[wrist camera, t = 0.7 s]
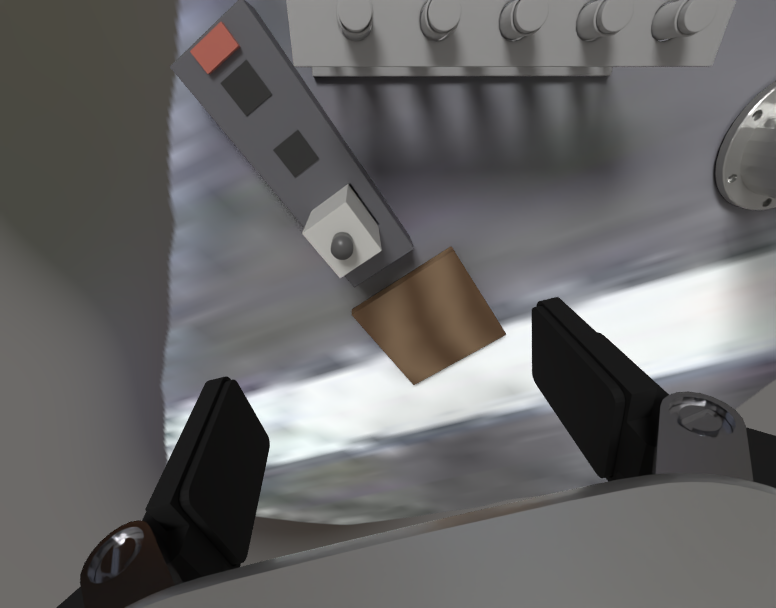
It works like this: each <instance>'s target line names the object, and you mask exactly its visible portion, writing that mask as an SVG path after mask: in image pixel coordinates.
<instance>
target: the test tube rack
mask: <svg viewBox="0 0 776 608" xmlns="http://www.w3.org/2000/svg"><path fill="white" fill-rule="evenodd" d="M510 1H514V0H286V2H287V11H288V19H289V28H290V37H291V46H292V55H293V63H294V67H312V74H313V76H314V77H441V76H610V75H611V72H612V68H613V67H707V66H712V65H713V62H714V59H715V57H716V54H717V51H718V48H719V46H720V43H721V40H722V38H723V35H724V32H725V30H726V27H727V24H728V22H729V19H730V16H731V13H732V11H733V8H734V5H735V3H736V0H515V1H514V2H512V3H510V4H509V5H507V6H505V5H506V4H508V3H509V2H510ZM591 1H596V2H593V3H590V4H588V5H586V4H587V3H589V2H591ZM672 1H674V2H673V3H669V4H666V5H663V4H665V3H667V2H672ZM426 3H427V4H426ZM425 4H426V6H425V8H423V7H424V5H425ZM584 5H585V6H584ZM504 6H505V7H504ZM664 39H668V40H667V41H662V42H660V41H659V40H664Z"/></svg>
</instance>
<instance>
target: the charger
mask: <svg viewBox="0 0 776 608" xmlns="http://www.w3.org/2000/svg"><path fill="white" fill-rule="evenodd" d="M302 234H303V235H304V236H305V237H306V239H307V240H308V241H309V242H310V243H311V245H312V246H313V247H314V248H315V249H316V250H317V252H318V253H319V254H320V255H321V256H322V258H323V259H324V260H325V261H326V262H327V263H328V265H329V266H330V267H331V268H332V269H333V271H334V272H335V273H336V274H337V275H338V276H339V278H341V277H343V276H344V275H346V274H347V273H349V272H350V271H352V270H353V269H355V268H356V267H358V266H359V265H361V264H362V263H364V262H365V261H367V260H368V259H370V258H371V257H373V256H374V255H376V254H377V253H379V252H380V251H382V248H381V241H380V234H379V228H378V225H377V223H376V222H375V221H374V219H373V218H372V217H371V214H370V213H369V211H368V210H367V208H366V207H365V206H364V204H363V203H362V201H361V200H360V199H359V197H358V196H357V194H356V193H355V192H354V190H353V189H352V187H351V186H350V185H348V184H347V185H346V186H345V187H343V188H342V189H341V190H339V191H338V192H336V193H335V194H334V195H332V196H331V197H330V198H328V199H327V200H326V201H324V202H323V203H322V204H320V205H319V206H317V207H316V208H315V209H313V210H312V211H311V213H310V216H309V218H308V221H307V223H306V225H305V228H304V230H303V233H302Z"/></svg>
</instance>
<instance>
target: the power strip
mask: <svg viewBox="0 0 776 608" xmlns="http://www.w3.org/2000/svg"><path fill="white" fill-rule="evenodd" d="M170 68H171V69H172V70H173V71H174V73H175V74H176V75H177V76H178V77H179V78H180V80H181V81H182V82H183V83H184V84H185V86H186V87H187V88H188V89H189V90H190V92H191V93H192V94H193V95H194V96H195V98H196V99H197V100H198V101H199V102H200V104H201V105H202V106H203V107H204V108H205V110H206V111H207V112H208V113H209V114H210V116H211V117H212V118H213V119H214V120H215V122H216V123H217V124H218V125H219V126H220V128H221V129H222V130H223V131H224V132H225V133H226V135H227V136H228V137H229V138H230V139H231V141H232V142H233V143H234V144H235V145H236V147H237V148H238V149H239V150H240V151H241V153H242V154H243V155H244V156H245V157H246V159H247V160H248V161H249V162H250V163H251V165H252V166H253V167H254V168H255V169H256V171H257V172H258V173H259V174H260V175H261V177H262V178H263V179H264V180H265V181H266V183H267V184H268V185H269V186H270V187H271V188H272V190H273V191H274V192H275V193H276V194H277V196H278V197H279V198H280V199H281V200H282V202H283V203H284V204H285V205H286V206H287V208H288V209H289V210H290V211H291V212H292V214H293V215H294V216H295V217H296V218H297V220H298V221H299V222H300V223H301V224H302V226H303V227H304V228H305V225H306V223H307V221H308V218H309V216H310V213H311V211H312V210H313V209H315V208H316V207H317V206H319V205H320V204H322V203H323V202H324V201H326V200H327V199H328V198H330V197H331V196H332V195H334V194H335V193H336V192H338V191H339V190H341V189H342V188H343V187H345V186H346V185H347V184H348V185H350V186H351V187H352V189H353V190H354V192H355V193H356V194H357V196H358V197H359V199H360V200H361V201H362V203H363V204H364V206H365V207H366V208H367V210H368V211H369V213H370V214H371V217H372V218H373V219H374V221H375V222H376V223H377V225H378V228H379V234H380V241H381V248H382V251H380V252H379V253H377V254H376V255H374V256H373V257H371V258H370V259H368V260H367V261H365V262H364V263H362V264H361V265H359V266H358V267H356V268H355V269H353V270H352V271H350V272H349V273H347V274H346V275H344V276H345V277H346V278H347V279H348V281H349V282H350V283H351V284H352V285H353V287H356V286H357V285H359V284H360V283H362V282H364V281H365V280H367V279H368V278H370V277H371V276H373V275H374V274H376V273H377V272H379V271H380V270H382V269H383V268H385V267H387V266H388V265H390V264H391V263H393V262H394V261H396V260H397V259H399V258H400V257H402V256H403V255H405V254H406V253H408V252H410V251H411V250H413V249H414V247H413V244H412V241H411V239H410V236H409V234H408V233H407V232H406V230H405V229H404V227H403V226H402V224H401V223H400V221H399V220H398V218H397V217H396V215H395V214H394V212H393V211H392V210H391V208H390V207H389V205H388V204H387V202H386V201H385V199H384V198H383V196H382V195H381V193H380V192H379V190H378V189H377V188H376V186H375V185H374V183H373V182H372V180H371V179H370V177H369V176H368V174H367V173H366V171H365V170H364V168H363V167H362V166H361V164H360V163H359V161H358V160H357V158H356V157H355V155H354V154H353V152H352V151H351V149H350V148H349V146H348V145H347V143H346V142H345V141H344V139H343V138H342V136H341V135H340V133H339V132H338V130H337V129H336V127H335V126H334V124H333V123H332V121H331V120H330V119H329V117H328V116H327V114H326V113H325V111H324V110H323V108H322V107H321V105H320V104H319V102H318V101H317V99H316V98H315V97H314V95H313V94H312V92H311V91H310V89H309V88H308V86H307V85H306V83H305V82H304V80H303V79H302V77H301V76H300V74H299V73H298V72H297V70H296V69H295V67H294V66H293V64H292V63H291V61H290V60H289V58H288V57H287V55H286V54H285V52H284V51H283V50H282V48H281V47H280V45H279V44H278V42H277V41H276V39H275V38H274V36H273V35H272V33H271V32H270V30H269V29H268V28H267V26H266V25H265V23H264V22H263V20H262V19H261V17H260V16H259V14H258V13H257V11H256V10H255V8H253V7H252V6H251V5H250V4H249V3H247V2H246V1H245V0H238V1H237V2H236V3H235V4H234V5H233V6H232V7H231V8H230V9H229V10H228V11H227V12H226V13H225V14H224V15H223V16H222V17H221V18H220V19H218V20H217V21H216V22H215V23H214V24H213V25H212V26H211V27H210V28H209V29H208V30H207V31H206V32H205V33H204V34H203V35H202V36H201V37H200V38H199V39H198V40H197V41H196V42H195V43H194V44H193V45H192V46H191V47H190V48H189V49H188V50H187V51H185V52H184V53H183V54H182V55H181V56H180V57H179V58H178V59H177V60H176V61H175V62H174V63H173V64H172V65H171V66H170Z"/></svg>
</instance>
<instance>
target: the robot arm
mask: <svg viewBox="0 0 776 608" xmlns="http://www.w3.org/2000/svg"><path fill="white" fill-rule="evenodd" d="M715 175H716V183H717V186H718V189H719V191H720V193H721V195H722V196H723V197H724V198H725V200H727V201H728V202H730V203H731V204H733V205H735V206H738V207H741V208H744V209H750V210H767V209H771V208H776V81H775V82H773V83H772V84H770V85H769V86H768V87H767V88H765V89H764V90H763V91H762V92H760V93H759V94H758V95H757V96H756V97H755V98H754V99H753V100H752V101H751V102H750V103H749V104H748V105H747V106H746V107H745V108H744V110H743V111H742V112H741V113H740V115H739V116H738V117H737V119H736V120H735V121H734V123H733V124H732V126H731V128H730V129H729V131H728V133H727V134H726V136H725V139H724V141H723V143H722V145H721V148H720V151H719V154H718V158H717V162H716V172H715ZM532 375H533V379H534V381H535V383H536V385H537V387H538V388H539V389H540V391H541V392H542V394H543V395H544V397H545V398H546V400H547V401H548V403H549V404H550V406H551V407H552V409H553V410H554V412H555V413H556V415H557V416H558V418H559V419H560V421H561V422H562V424H563V425H564V426H565V428H566V429H567V431H568V432H569V434H570V435H571V437H572V438H573V440H574V441H575V443H576V444H577V446H578V447H579V449H580V450H581V452H582V453H583V455H584V456H585V458H586V459H587V460H588V462H589V463H590V465H591V466H592V468H593V469H594V471H595V472H596V474H597V475H598V476H599V477H600V478H606V479H607V480H608V482H604V483H599V484H595V485H590V486H585V487H580V488H576V489H571V490H566V491H561V492H557V493H552V494H548V495H543V496H539V497H535V498H530V499H526V500H521V501H517V502H513V503H509V504H504V505H500V506H495V507H491V508H487V509H483V510H478V511H474V512H469V513H465V514H460V515H456V516H452V517H448V518H443V519H439V520H435V521H430V522H427V523H422V524H417V525H413V526H409V527H405V528H400V529H396V530H392V531H388V532H384V533H379V534H375V535H371V536H367V537H362V538H358V539H354V540H350V541H345V542H341V543H338V544H333V545H329V546H324V547H320V548H316V549H312V550H308V551H304V552H300V553H296V554H291V555H287V556H283V557H279V558H275V559H270V560H266V561H263V562H259V563H254V564H250V565H246V566H243V567H240V564H241V563H243V562H244V561H245V559H246V557H247V554H248V549H249V544H250V539H251V535H252V530H253V525H254V520H255V515H256V510H257V506H258V501H259V496H260V491H261V486H262V481H263V477H264V472H265V467H266V462H267V457H268V452H269V447H270V442H269V437H268V435H267V433H266V431H265V430H264V428H263V426H262V425H261V423H260V421H259V419H258V418H257V416H256V414H255V412H254V411H253V409H252V407H251V405H250V404H249V402H248V400H247V398H246V397H245V395H244V393H243V391H242V390H241V388H240V386H239V384H238V383H237V381H236V380H231V379H230V378H229V377H222V378H218V379H213V380H209V381H207V382H206V383H205V385H204V387H203V389H202V391H201V394H200V396H199V398H198V400H197V402H196V404H195V406H194V408H193V410H192V412H191V415H190V417H189V419H188V421H187V423H186V425H185V427H184V429H183V431H182V433H181V435H180V438H179V440H178V442H177V444H176V446H175V448H174V450H173V452H172V454H171V456H170V459H169V461H168V463H167V465H166V467H165V469H164V471H163V473H162V475H161V478H160V480H159V482H158V484H157V486H156V488H155V490H154V492H153V494H152V497H151V498H150V501H149V503H148V505H147V507H146V513H145V516H144V518H143V520H142V521H141V520H137V521H131V522H128V523H126V524H124V525H121V526H120V527H118V528H117V529H115V530H114V531H112V532H110V533H109V534H108V535H107V536H106V537H105V538H104V539H103V540H101V541H100V542H99V544H98V545H97V546H96V547H95V548H94V549H93V551H92V552H91V553H90V555H89V556H88V558H87V560H86V561H85V563H84V566H83V568H82V571H81V574H80V586H81V587H80V588H79V589H77V590H76V591H75V592H74V593H73V594H72V595H70V596H69V597H68V598H67V599H66V600H65V601H64V602H63V603H61V604H60V605H59V606H58V607H57V608H776V436H774V435H771V434H767V433H763V432H760V431H757V430H753V429H749V428H746V426H745V423H744V421H743V418H742V417H741V416H740V415H739V414H738V413H737V411H736V410H735V409H733V408H732V407H730V406H729V405H728V404H726V403H725V402H722V401H720V400H718V399H716V398H714V397H711V396H708V395H705V394H701V393H695V392H676V393H673V394H670V395H669V394H668V393H667V392H665V391H664V390H663V389H662V388H661V387H660V386H659V385H658V384H657V383H656V382H654V381H653V380H652V379H651V378H650V377H649V376H648V375H647V374H646V373H645V372H643V371H642V370H641V369H640V368H639V367H638V366H637V365H636V364H635V363H634V362H632V361H631V360H630V359H629V358H628V357H627V356H626V355H625V354H624V353H623V352H621V351H620V350H619V349H618V348H617V347H616V346H615V345H614V344H613V343H612V342H610V341H609V340H608V339H607V338H606V337H605V336H604V335H602V334H601V333H598V332H596V331H595V330H594V329H592V328H591V327H590V326H589V325H588V324H587V323H586V322H585V321H584V320H583V319H582V318H581V317H579V316H578V315H577V314H576V313H575V312H574V311H573V310H572V309H571V308H570V307H569V306H568V305H566V304H565V303H564V302H563V301H562V300H561V299H560V298H558V297H555V298H551V299H547V300H543V301H539V302H538V303H537V307H534V308H532Z"/></svg>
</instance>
